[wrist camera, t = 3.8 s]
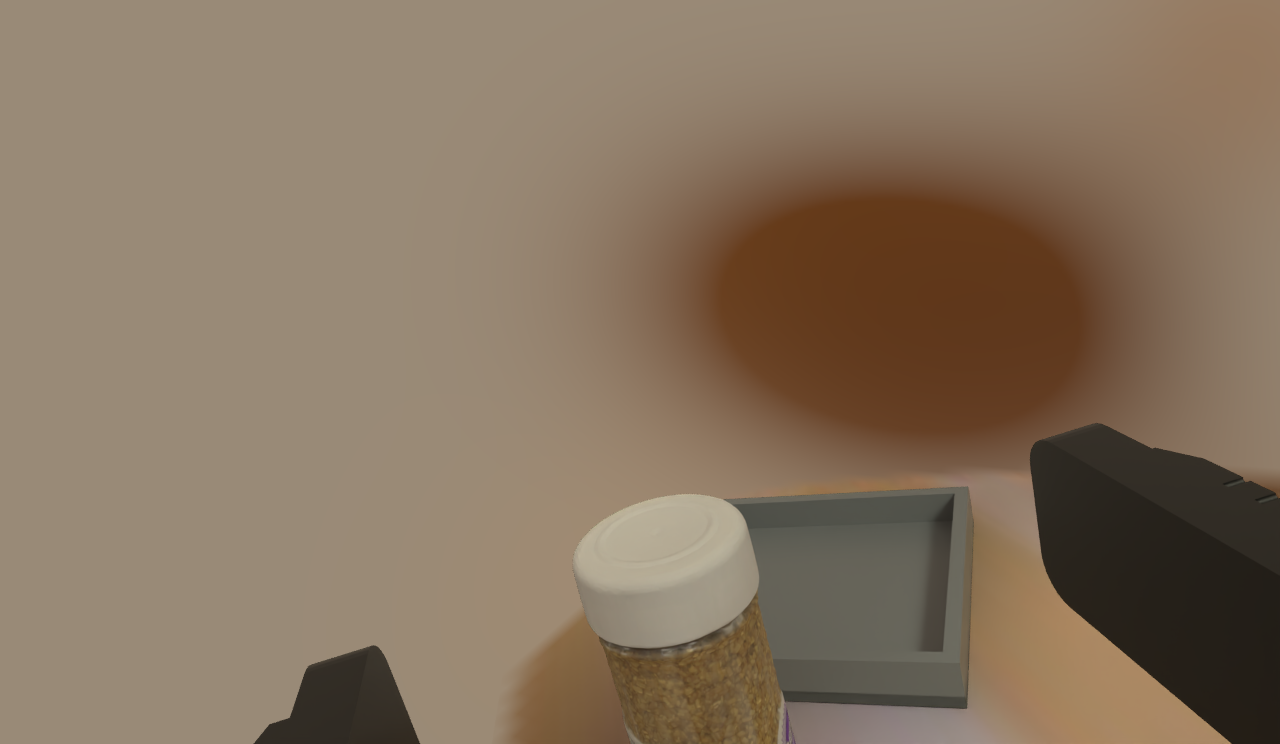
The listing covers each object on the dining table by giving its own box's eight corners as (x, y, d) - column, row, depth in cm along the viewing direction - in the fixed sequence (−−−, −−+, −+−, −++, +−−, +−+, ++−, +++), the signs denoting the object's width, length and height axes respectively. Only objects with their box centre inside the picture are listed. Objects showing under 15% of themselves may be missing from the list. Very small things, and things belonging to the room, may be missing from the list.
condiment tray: (973, 522, 44) (968, 486, 43) (966, 708, 33) (959, 663, 32) (721, 532, 49) (713, 499, 48) (641, 695, 38) (629, 655, 37)
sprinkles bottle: (863, 972, 25) (764, 548, 20) (703, 1020, 24) (571, 604, 20) (814, 841, 29) (724, 470, 25) (677, 881, 29) (565, 515, 25)
